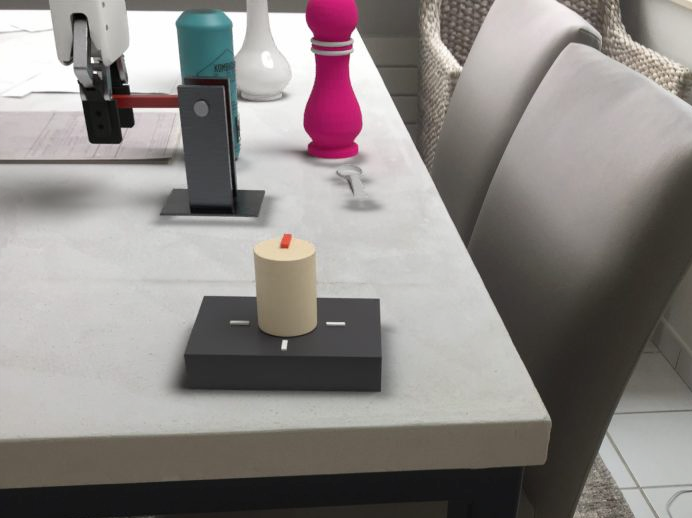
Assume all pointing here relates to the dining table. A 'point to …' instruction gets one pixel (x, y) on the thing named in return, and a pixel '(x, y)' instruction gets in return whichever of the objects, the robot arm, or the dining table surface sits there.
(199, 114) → the lever bracket
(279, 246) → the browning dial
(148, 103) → the red lever
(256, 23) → the flower vase
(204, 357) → the dial panel
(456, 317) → the dining table surface
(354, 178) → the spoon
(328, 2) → the pepper mill
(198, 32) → the beverage bottle
